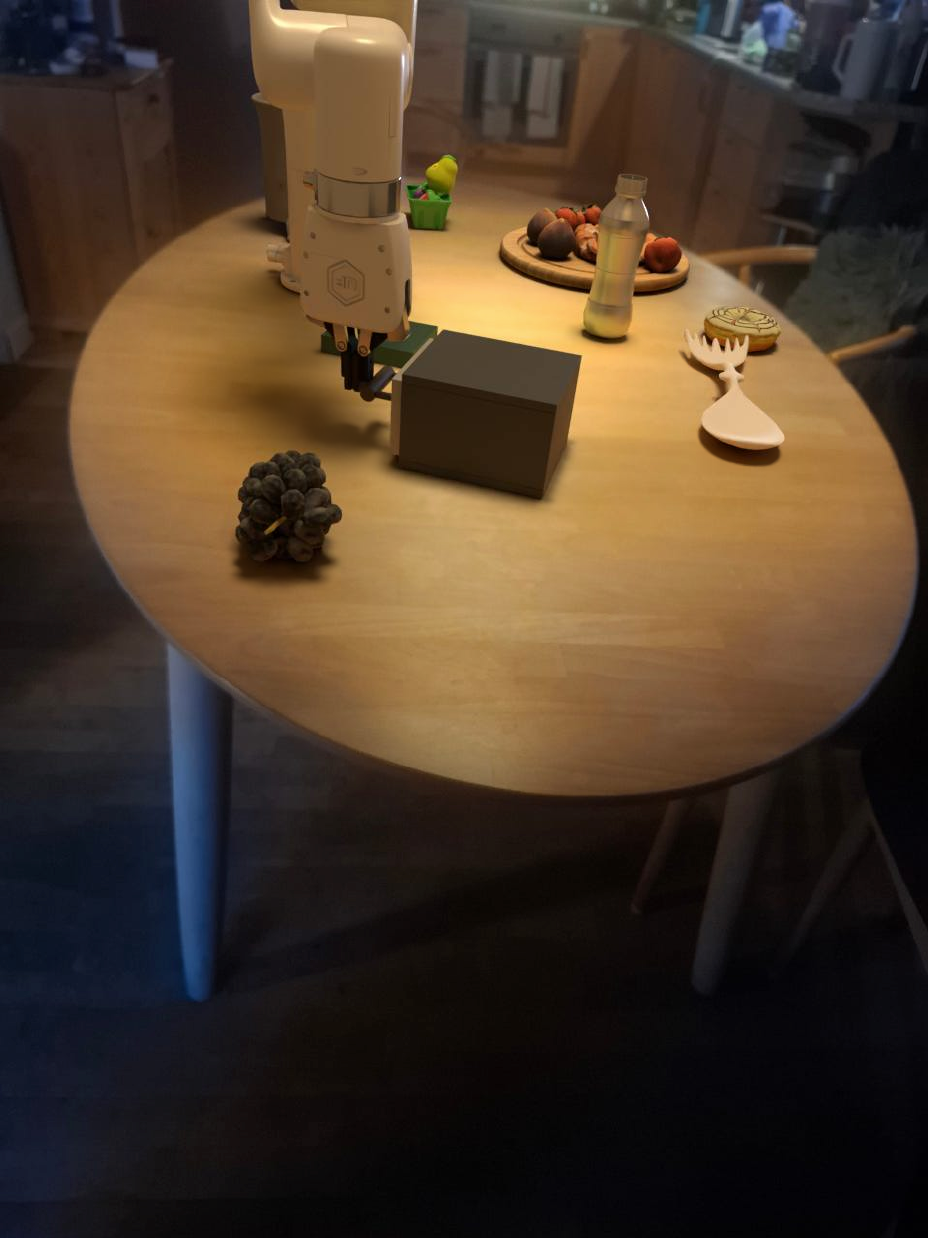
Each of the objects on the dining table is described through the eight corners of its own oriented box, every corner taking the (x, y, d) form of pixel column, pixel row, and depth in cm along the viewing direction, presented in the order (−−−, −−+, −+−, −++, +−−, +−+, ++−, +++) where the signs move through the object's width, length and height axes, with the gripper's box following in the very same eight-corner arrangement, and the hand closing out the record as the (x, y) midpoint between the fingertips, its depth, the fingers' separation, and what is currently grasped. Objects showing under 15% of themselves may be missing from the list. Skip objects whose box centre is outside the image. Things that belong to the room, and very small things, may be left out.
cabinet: (398, 467, 86) (401, 373, 80) (437, 415, 96) (442, 328, 89) (542, 498, 83) (557, 404, 77) (567, 442, 93) (582, 355, 87)
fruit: (260, 394, 75) (248, 477, 63) (350, 424, 78) (355, 509, 66) (235, 478, 80) (220, 569, 68) (321, 503, 83) (321, 595, 71)
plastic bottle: (627, 346, 117) (659, 186, 104) (577, 339, 117) (604, 178, 105) (629, 330, 122) (660, 175, 109) (582, 323, 122) (608, 168, 110)
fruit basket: (403, 212, 161) (406, 145, 154) (450, 215, 163) (455, 149, 155) (407, 229, 153) (410, 159, 145) (456, 232, 154) (462, 162, 147)
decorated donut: (786, 341, 124) (795, 315, 121) (760, 361, 116) (768, 334, 114) (718, 321, 128) (726, 295, 125) (689, 339, 121) (696, 312, 118)
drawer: (349, 445, 87) (349, 370, 82) (389, 400, 95) (391, 330, 90) (520, 482, 84) (531, 406, 79) (545, 432, 92) (556, 361, 87)
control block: (320, 352, 107) (320, 320, 104) (351, 326, 114) (351, 295, 112) (412, 370, 105) (413, 338, 102) (437, 342, 112) (439, 312, 110)
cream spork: (743, 356, 117) (750, 331, 115) (787, 468, 92) (797, 439, 90) (677, 348, 118) (683, 323, 116) (703, 458, 93) (711, 429, 91)
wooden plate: (727, 283, 143) (741, 230, 138) (582, 306, 128) (592, 248, 123) (601, 230, 163) (609, 183, 158) (462, 245, 148) (466, 193, 143)
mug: (333, 247, 141) (331, 68, 125) (244, 237, 141) (231, 57, 126) (354, 218, 156) (354, 54, 140) (273, 209, 156) (264, 45, 140)
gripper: (263, 189, 76) (275, 384, 87) (421, 219, 73) (411, 416, 85) (302, 172, 81) (307, 358, 93) (450, 199, 79) (437, 387, 90)
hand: (357, 385), depth 89 cm, fingers closed
